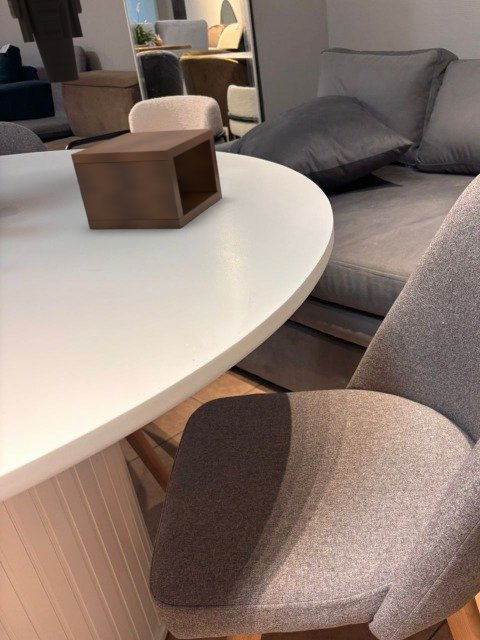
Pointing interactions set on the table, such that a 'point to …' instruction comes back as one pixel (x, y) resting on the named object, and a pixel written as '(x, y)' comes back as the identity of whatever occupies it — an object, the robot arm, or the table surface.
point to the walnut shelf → (148, 179)
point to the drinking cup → (53, 38)
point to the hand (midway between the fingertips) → (54, 39)
